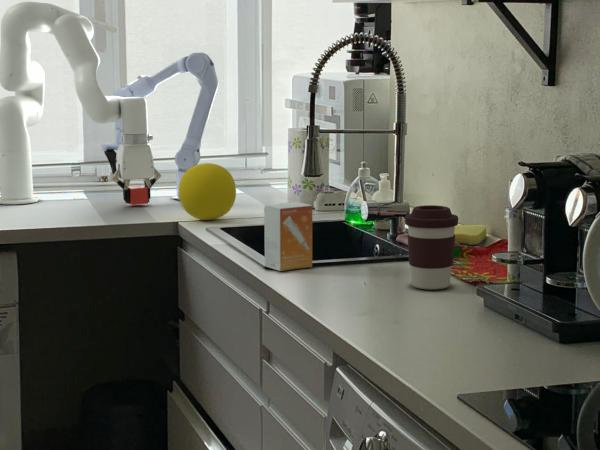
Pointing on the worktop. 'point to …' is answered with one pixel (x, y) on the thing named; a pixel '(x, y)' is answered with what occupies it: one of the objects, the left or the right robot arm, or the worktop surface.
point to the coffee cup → (431, 245)
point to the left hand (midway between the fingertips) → (137, 201)
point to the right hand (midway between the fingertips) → (126, 173)
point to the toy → (207, 191)
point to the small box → (288, 236)
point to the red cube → (138, 195)
